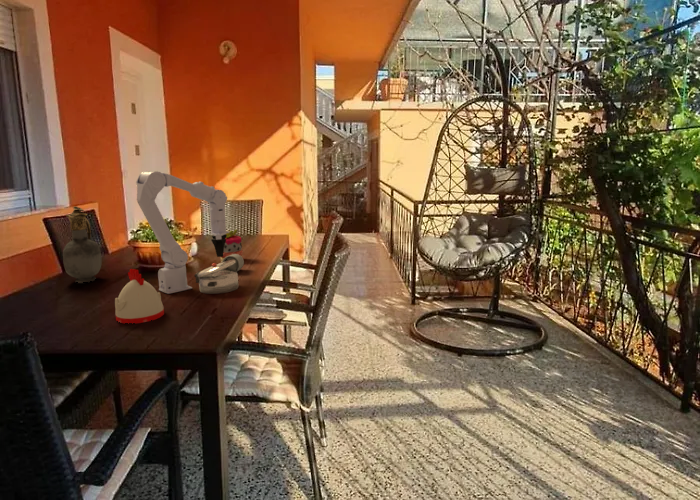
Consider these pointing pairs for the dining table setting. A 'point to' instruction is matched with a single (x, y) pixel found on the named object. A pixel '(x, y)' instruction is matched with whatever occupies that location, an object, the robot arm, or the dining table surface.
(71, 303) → the dining table surface
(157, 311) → the kitchen timer
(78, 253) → the grey rounded bottle shape
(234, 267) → the ceramic mug
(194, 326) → the dining table surface
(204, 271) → the cooker lid
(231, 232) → the cake
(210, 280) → the cooker pot
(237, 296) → the dining table surface
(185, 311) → the dining table surface
